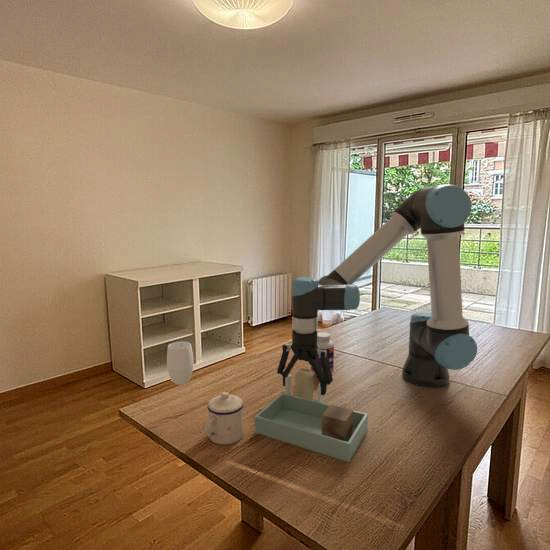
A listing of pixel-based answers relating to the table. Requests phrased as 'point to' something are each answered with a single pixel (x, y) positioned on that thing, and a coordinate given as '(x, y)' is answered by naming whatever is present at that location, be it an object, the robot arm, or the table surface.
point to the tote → (307, 426)
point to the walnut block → (337, 423)
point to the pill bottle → (323, 344)
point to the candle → (304, 384)
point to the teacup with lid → (225, 419)
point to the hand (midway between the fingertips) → (304, 400)
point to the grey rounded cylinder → (180, 362)
